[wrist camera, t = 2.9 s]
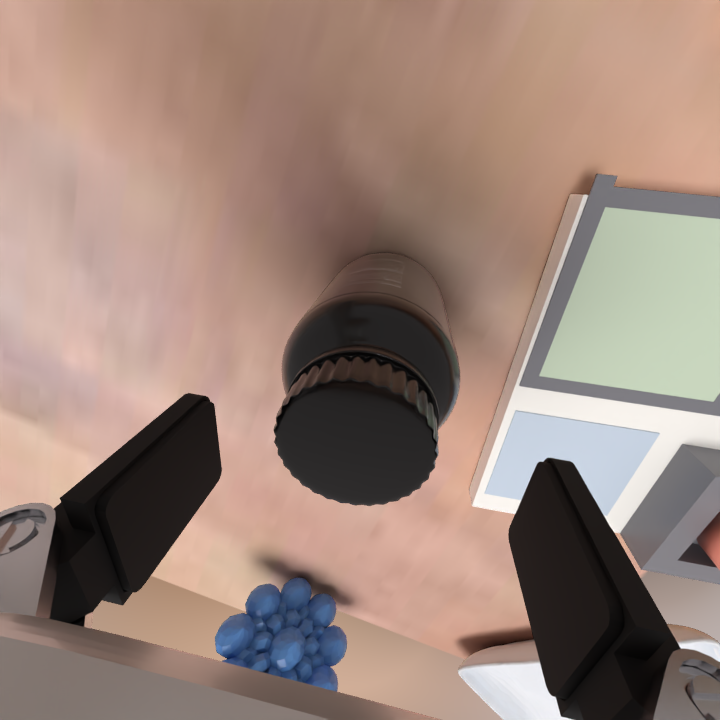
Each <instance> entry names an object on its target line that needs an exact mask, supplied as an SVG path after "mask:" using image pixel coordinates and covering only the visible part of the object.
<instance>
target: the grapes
mask: <svg viewBox="0 0 720 720" xmlns="http://www.w3.org/2000/svg"><path fill="white" fill-rule="evenodd" d="M311 594H312V592H311V586H310V584H309V583H308V582H307V580H306V579H303V578H294V579H290V580H289V581H288V582H287V583H286V584H284V586H283V588H282V591H281V593H280V591H279V589H278V588H277V587H276V586H274V585H272V584H264V585H260V586H258V587H256V588H255V589H254V590H253V591H252V592H251V593H250V595H249V597H248V599H247V602H246V604H245V606H246V613H247V614H245V613H241V614H237V615H234V616H230V617H229V618H228V619H227V620H226V621H224V622H223V623H222V625H221V627H220V628H219V630H218V632H217V634H216V636H215V645H216V651H217V653H218V654H220V655H221V656H223V657H225V658H227V659H226V660H223V661H222V662H226V663H229V664H233V665H237V666H241V667H245V668H248V669H252V670H256V671H260V672H264V673H268V674H271V675H275V676H279V677H283V678H287V679H290V680H294V681H298V682H302V683H306V684H309V685H313V686H317V687H321V688H325V689H328V690H332V691H336V692H337V689H338V681H337V676H336V674H335V672H334V670H333V669H332V668H331V667H330V666H334V665H336V664H337V663H339V661H340V660H341V659H342V658H343V657H344V655H345V652H346V648H347V640H346V635H345V633H344V632H343V630H342V629H341V628H340V627H337V626H334V625H333V626H330V627H328V626H329V625H330V624H331V623H332V621H333V620H334V617H335V613H336V603H335V601H334V600H333V598H332V597H331V596H330V595H328V594H326V593H322V594H318V595H315V596H314V597H313V598H311ZM310 598H311V599H310Z"/></svg>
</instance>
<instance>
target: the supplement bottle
mask: <svg viewBox="0 0 720 720" xmlns="http://www.w3.org/2000/svg"><path fill="white" fill-rule="evenodd" d="M282 381H283V386H284V390H285V393H286V398H285V399H284V401H283V404H282V406H281V408H280V410H279V411H278V413H277V416H276V422H277V423H276V424H275V427H274V433H275V435H276V437H275V441H274V443H275V444H276V446H277V448H278V455H279V456H280V457H281V458H282V460H283V464H284V466H285V467H286V468H287V469H289V470H290V472H291V474H292V476H293V477H295V478H296V479H298V480H299V481H300V483H301V484H302V485H303V486H305V487H308V488H310V489H311V490H312V491H313V492H314V493H317V494H321V495H322V496H324V497H325V498H327V499H333V500H336V501H338V502H340V503H349V504H352V505H367V506H372V505H375V504H381V505H384V504H386V503H388V502H393V501H398V500H399V499H400V498H402V497H406V496H409V495H410V494H411V493H412V492H413V491H414V490H417V489H419V488H420V487H421V485H422V483H423V482H425V481H426V480H428V479H429V474H430V472H431V471H432V470H433V469H434V468H435V460H436V458H437V456H438V429H439V428H440V427H441V426H442V425H443V424H444V422H445V421H446V420H447V418H448V417H449V415H450V413H451V412H452V410H453V408H454V405H455V403H456V400H457V397H458V392H459V387H460V369H459V362H458V356H457V352H456V348H455V344H454V340H453V337H452V333H451V329H450V325H449V321H448V317H447V313H446V309H445V305H444V301H443V298H442V295H441V292H440V289H439V287H438V285H437V283H436V281H435V280H434V278H433V277H432V276H431V274H430V273H429V272H428V271H427V270H426V269H425V268H424V267H423V266H421V265H420V264H419V263H417V262H416V261H414V260H412V259H410V258H408V257H405V256H403V255H399V254H394V253H374V254H369V255H366V256H363V257H360V258H358V259H356V260H354V261H353V262H351V263H349V264H348V265H347V266H346V267H344V268H343V269H342V270H341V271H340V272H339V273H338V274H337V276H336V277H335V278H334V279H333V280H332V282H331V283H330V284H329V285H328V287H327V288H326V289H325V290H324V291H323V293H322V294H321V295H320V296H319V298H318V299H317V300H316V301H315V303H314V304H313V305H312V306H311V308H310V309H309V310H308V311H307V313H306V314H305V315H304V316H303V318H302V319H301V320H300V322H299V323H298V324H297V326H296V327H295V329H294V330H293V332H292V334H291V336H290V338H289V339H288V342H287V344H286V347H285V350H284V354H283V360H282Z"/></svg>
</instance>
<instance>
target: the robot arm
mask: <svg viewBox="0 0 720 720" xmlns="http://www.w3.org/2000/svg"><path fill="white" fill-rule="evenodd" d="M221 471H222V468H221V459H220V450H219V442H218V433H217V424H216V416H215V407H214V404H213V403H212V402H210V400H209V398H208V397H206V396H202V395H196V394H191V393H188V394H185V395H184V396H182V397H181V398H180V399H179V400H178V401H176V402H175V403H174V404H173V405H172V406H170V407H169V408H168V409H167V410H166V411H164V412H163V413H162V414H161V415H159V416H158V417H157V418H156V419H155V420H153V421H152V422H151V423H150V424H149V425H147V426H146V427H145V428H144V429H143V430H141V431H140V432H139V433H138V434H137V435H135V436H134V437H133V438H132V439H131V440H129V441H128V442H127V443H126V444H125V445H123V446H122V447H121V448H120V449H119V450H117V451H116V452H115V453H114V454H113V455H111V456H110V457H109V458H108V459H107V460H105V461H104V462H103V463H102V464H100V465H99V466H98V467H97V468H96V469H94V470H93V471H92V472H91V473H90V474H88V475H87V476H86V477H85V478H84V479H82V480H81V481H80V482H79V483H78V484H76V485H75V486H74V487H73V488H72V489H70V490H69V491H68V492H67V493H66V494H64V495H63V496H62V497H61V498H60V500H61V503H60V504H59V505H58V506H56V507H55V508H54V509H53V508H52V507H51V506H50V505H47V504H44V503H29V504H24V505H18V506H15V507H13V508H10V509H7V510H4V511H2V512H0V720H441V719H437V718H433V717H429V716H426V715H422V714H418V713H415V712H411V711H407V710H403V709H400V708H396V707H392V706H389V705H385V704H381V703H377V702H374V701H370V700H366V699H362V698H359V697H355V696H351V695H347V694H343V693H340V692H336V691H332V690H328V689H325V688H321V687H317V686H313V685H309V684H306V683H302V682H298V681H294V680H290V679H287V678H283V677H279V676H275V675H271V674H268V673H264V672H260V671H256V670H252V669H248V668H245V667H241V666H237V665H233V664H229V663H226V662H222V661H218V660H214V659H210V658H206V657H202V656H198V655H194V654H190V653H187V652H183V651H179V650H175V649H171V648H167V647H163V646H159V645H156V644H152V643H148V642H144V641H140V640H136V639H132V638H128V637H124V636H120V635H116V634H112V633H107V632H103V631H99V630H95V629H92V620H93V611H94V609H95V608H96V607H97V606H98V604H99V603H100V602H101V600H104V601H107V602H111V603H115V604H119V605H124V603H125V602H126V601H127V599H128V598H129V596H130V595H131V594H132V592H137V591H138V590H140V589H141V588H142V586H143V585H144V584H145V583H146V581H147V580H148V579H149V577H150V576H151V574H152V573H153V572H154V570H155V569H156V567H157V566H158V565H159V563H160V562H161V560H162V559H163V558H164V556H165V555H166V553H167V552H168V551H169V549H170V548H171V546H172V545H173V544H174V542H175V541H176V539H177V538H178V537H179V535H180V534H181V533H182V531H183V530H184V528H185V527H186V526H187V524H188V523H189V521H190V520H191V519H192V517H193V516H194V514H195V513H196V512H197V510H198V509H199V507H200V506H201V505H202V503H203V502H204V500H205V499H206V498H207V496H208V495H209V493H210V492H211V491H212V489H213V488H214V486H215V485H216V484H217V482H218V481H219V479H220V476H221ZM509 543H510V547H511V551H512V555H513V559H514V563H515V567H516V570H517V574H518V578H519V582H520V586H521V590H522V594H523V598H524V602H525V606H526V610H527V614H528V617H529V621H530V625H531V629H532V633H533V637H534V641H535V645H536V649H537V653H538V657H539V661H540V664H541V668H542V672H543V676H544V680H545V684H546V687H547V690H548V692H549V693H550V695H551V696H554V697H556V700H557V704H558V708H559V711H560V715H561V717H565V718H569V719H573V720H720V662H719V661H717V660H715V659H714V658H712V657H711V656H708V655H706V654H703V653H701V652H699V651H696V650H691V649H684V648H682V649H681V648H680V646H679V644H678V643H677V641H676V639H675V637H674V636H673V634H672V632H671V630H670V629H669V627H668V625H667V624H666V622H665V620H664V619H663V617H662V615H661V613H660V611H659V610H658V608H657V607H656V604H655V603H654V601H653V599H652V597H651V596H650V594H649V592H648V591H647V589H646V587H645V586H644V584H643V582H642V580H641V578H640V577H639V575H638V573H637V571H636V570H635V568H634V566H633V565H632V563H631V561H630V559H629V558H628V556H627V554H626V552H625V551H624V549H623V547H622V545H621V544H620V542H619V540H618V538H617V537H616V535H615V533H614V532H613V530H612V528H611V527H610V525H609V524H608V522H607V520H606V518H605V517H604V515H603V513H602V511H601V510H600V508H599V506H598V505H597V503H596V501H595V499H594V498H593V496H592V494H591V492H590V491H589V489H588V487H587V485H586V484H585V482H584V480H583V478H582V477H581V475H580V473H579V471H578V470H577V468H576V466H575V465H574V464H573V462H571V461H566V460H561V459H555V458H546V459H545V460H544V462H538V463H537V465H536V467H535V470H534V472H533V474H532V476H531V479H530V481H529V483H528V486H527V488H526V490H525V493H524V495H523V497H522V500H521V502H520V504H519V507H518V509H517V511H516V514H515V516H514V518H513V521H512V523H511V525H510V528H509Z"/></svg>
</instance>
